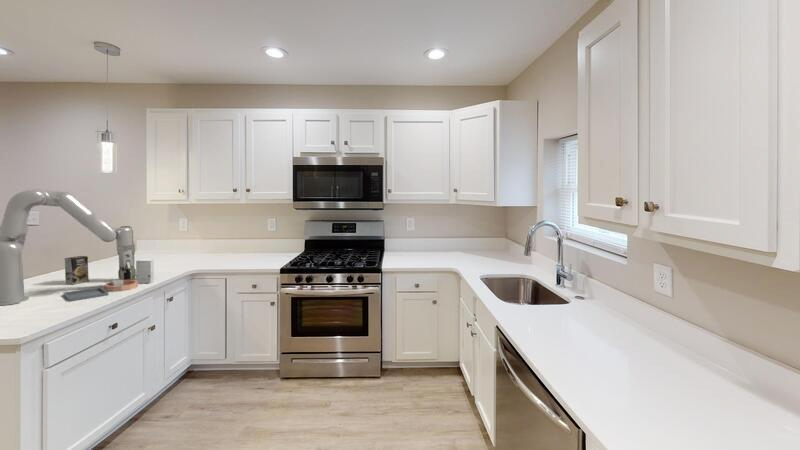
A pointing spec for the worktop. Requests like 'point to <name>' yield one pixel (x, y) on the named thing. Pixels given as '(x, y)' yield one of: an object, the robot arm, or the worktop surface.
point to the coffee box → (76, 270)
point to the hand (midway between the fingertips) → (126, 277)
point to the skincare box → (145, 271)
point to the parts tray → (85, 294)
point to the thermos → (133, 259)
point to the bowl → (126, 286)
